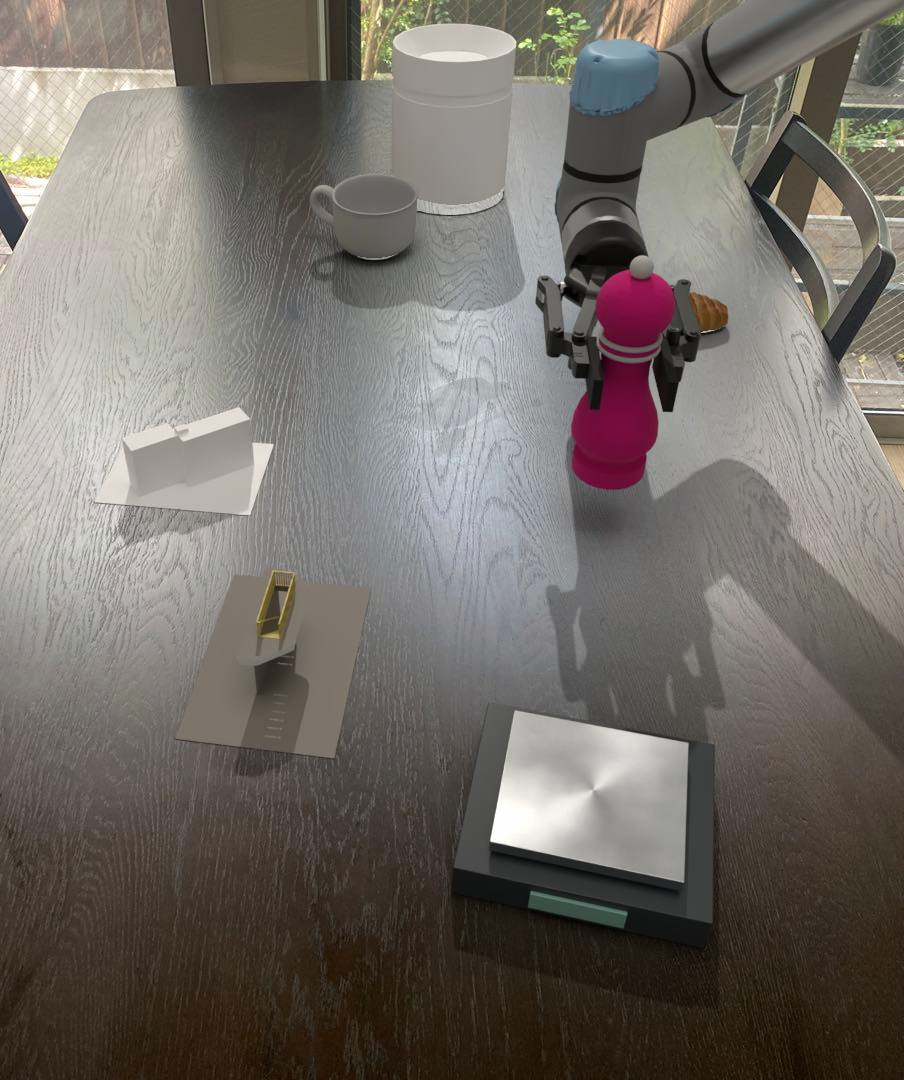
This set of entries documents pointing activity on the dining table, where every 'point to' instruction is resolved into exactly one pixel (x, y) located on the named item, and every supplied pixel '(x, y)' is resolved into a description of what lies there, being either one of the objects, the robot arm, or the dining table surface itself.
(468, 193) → the canister
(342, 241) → the teacup
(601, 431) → the pepper mill
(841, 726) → the dining table surface
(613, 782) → the pan
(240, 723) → the platform
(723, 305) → the pastry
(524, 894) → the scale
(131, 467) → the white flat upright-walled piece
